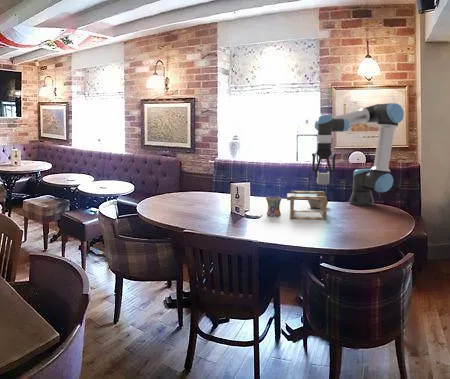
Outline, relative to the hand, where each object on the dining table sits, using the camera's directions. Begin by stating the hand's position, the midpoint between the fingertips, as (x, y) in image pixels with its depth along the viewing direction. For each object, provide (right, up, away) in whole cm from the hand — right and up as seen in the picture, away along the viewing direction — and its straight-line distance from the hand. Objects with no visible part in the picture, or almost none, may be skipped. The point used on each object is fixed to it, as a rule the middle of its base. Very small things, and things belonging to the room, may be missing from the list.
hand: (322, 182), depth 232 cm
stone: (0, 0, 0) cm, 0 cm away
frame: (-8, -19, +4) cm, 21 cm away
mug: (-28, -19, +8) cm, 35 cm away
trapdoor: (-11, -9, +3) cm, 15 cm away
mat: (-8, -19, +4) cm, 21 cm away
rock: (+2, -15, +26) cm, 30 cm away
